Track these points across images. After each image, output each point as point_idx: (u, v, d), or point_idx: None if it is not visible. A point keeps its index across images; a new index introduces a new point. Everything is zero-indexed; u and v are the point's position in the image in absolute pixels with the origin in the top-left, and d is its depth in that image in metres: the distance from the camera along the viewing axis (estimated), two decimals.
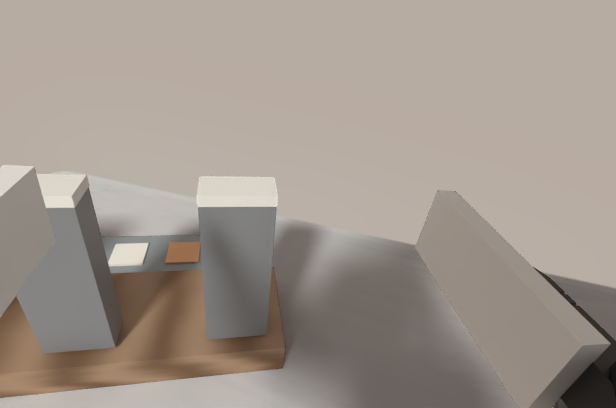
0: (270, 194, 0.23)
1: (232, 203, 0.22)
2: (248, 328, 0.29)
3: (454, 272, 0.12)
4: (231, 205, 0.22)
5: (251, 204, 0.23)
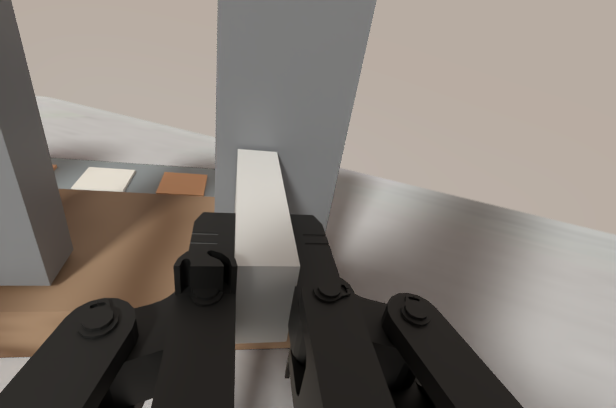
0: None
1: None
2: None
3: None
4: None
5: None
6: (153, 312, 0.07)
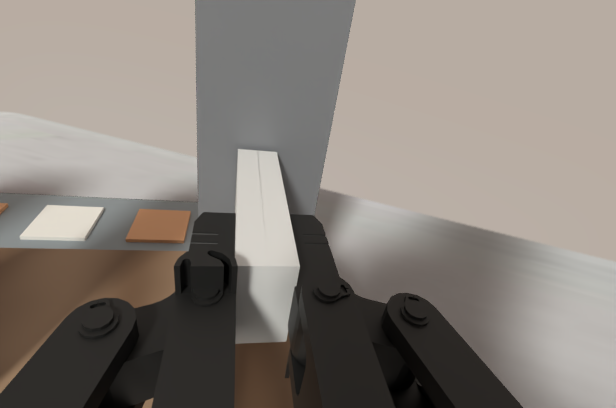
0: None
1: None
2: None
3: None
4: None
5: None
6: (153, 312, 0.07)
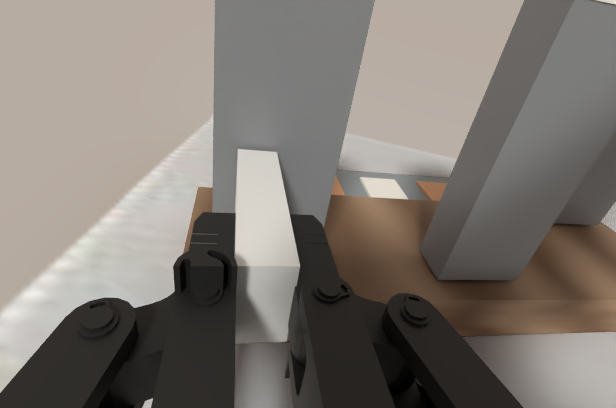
0: None
1: None
2: (589, 214, 0.27)
3: None
4: None
5: None
6: (153, 312, 0.07)
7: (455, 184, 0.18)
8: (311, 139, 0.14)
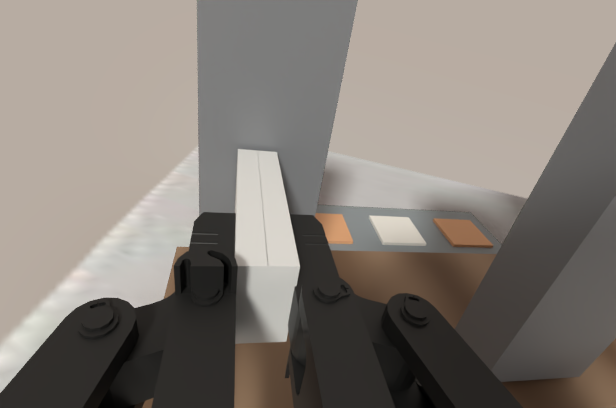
0: None
1: None
2: None
3: None
4: None
5: None
6: (153, 312, 0.07)
7: (506, 265, 0.14)
8: (296, 151, 0.14)
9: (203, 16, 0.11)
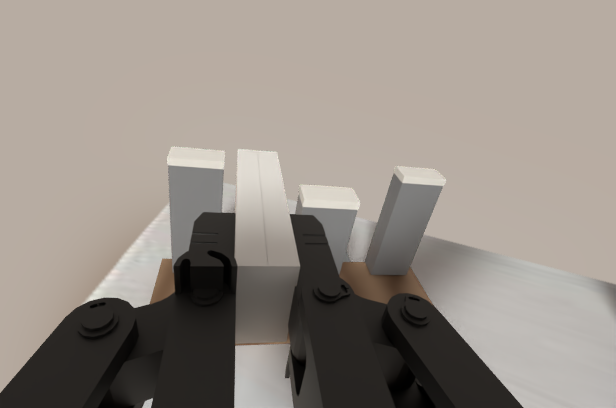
0: (441, 178, 0.39)
1: (421, 182, 0.38)
2: (397, 269, 0.45)
3: None
4: (420, 183, 0.38)
5: (430, 183, 0.39)
6: (153, 312, 0.07)
7: None
8: None
9: (170, 182, 0.33)
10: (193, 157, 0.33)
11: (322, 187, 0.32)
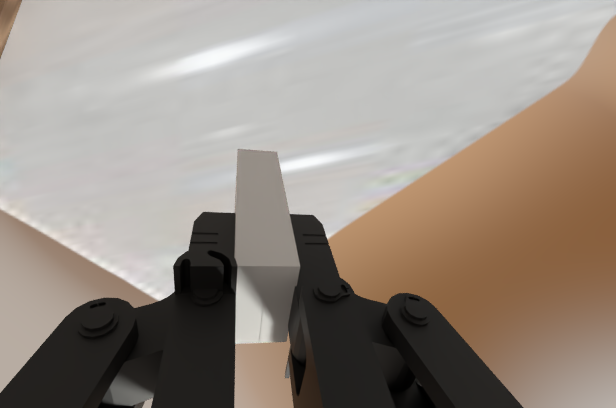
0: None
1: None
2: None
3: None
4: None
5: None
6: (153, 312, 0.07)
7: None
8: None
9: None
10: None
11: None
